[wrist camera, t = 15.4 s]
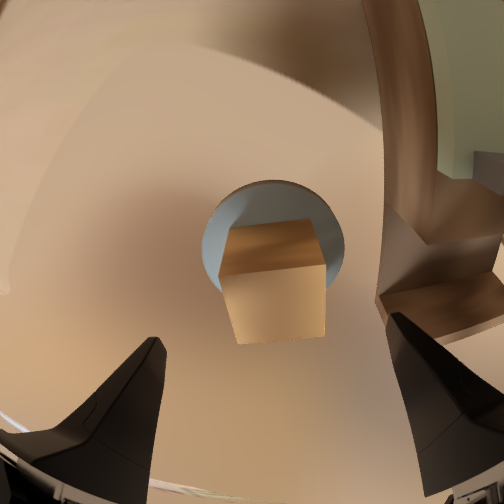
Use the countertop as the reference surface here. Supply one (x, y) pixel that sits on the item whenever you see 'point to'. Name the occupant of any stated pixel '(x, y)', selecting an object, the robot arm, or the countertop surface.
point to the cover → (468, 87)
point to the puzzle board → (428, 196)
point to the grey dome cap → (268, 211)
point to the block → (274, 282)
